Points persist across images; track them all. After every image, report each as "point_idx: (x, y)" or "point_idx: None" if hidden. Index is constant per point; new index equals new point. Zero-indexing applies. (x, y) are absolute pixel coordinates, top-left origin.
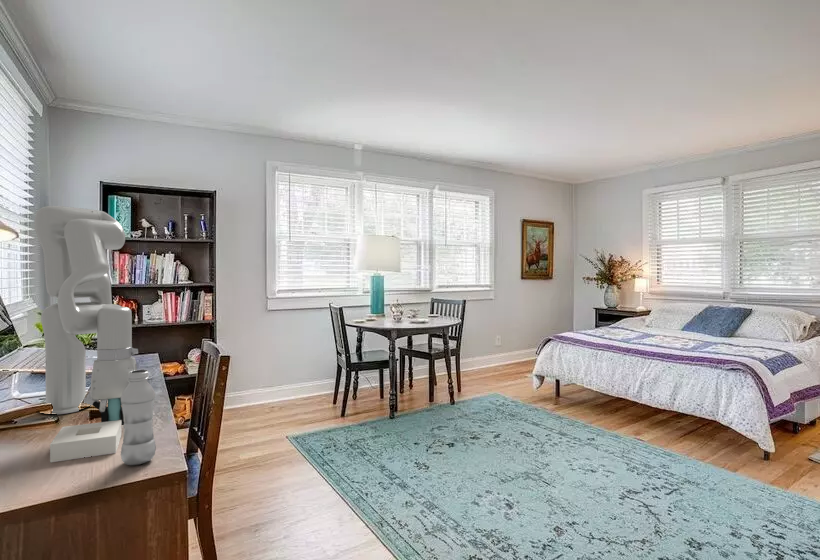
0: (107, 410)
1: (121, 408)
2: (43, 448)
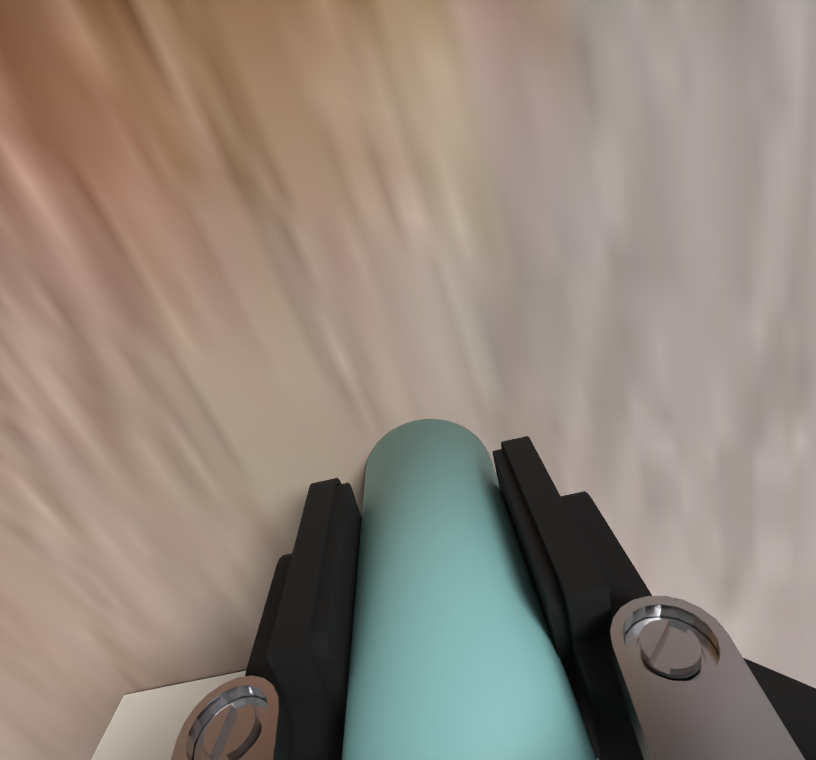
0: (341, 710)
1: (557, 644)
2: (50, 752)
